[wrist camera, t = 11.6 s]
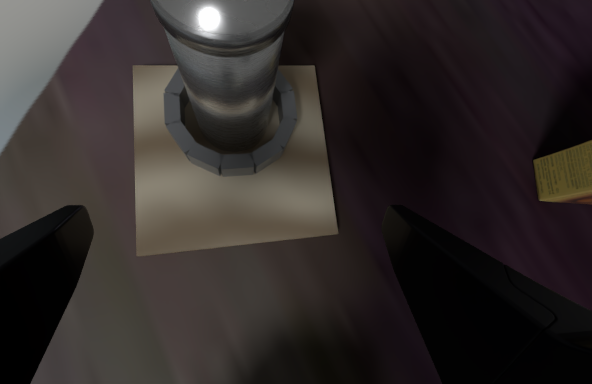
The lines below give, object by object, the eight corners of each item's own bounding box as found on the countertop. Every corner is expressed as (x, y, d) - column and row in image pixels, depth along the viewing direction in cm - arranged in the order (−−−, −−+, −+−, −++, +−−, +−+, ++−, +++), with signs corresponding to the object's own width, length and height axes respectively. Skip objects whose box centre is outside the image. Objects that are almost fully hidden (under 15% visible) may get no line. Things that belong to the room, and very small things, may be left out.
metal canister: (281, 136, 23) (322, 11, 11) (214, 165, 22) (179, 57, 10) (250, 76, 24) (257, -104, 12) (183, 100, 23) (114, -75, 11)
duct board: (334, 234, 24) (338, 233, 23) (141, 256, 21) (136, 256, 20) (311, 72, 26) (314, 65, 25) (137, 73, 23) (132, 65, 22)
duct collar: (297, 171, 23) (303, 164, 21) (173, 180, 21) (166, 173, 19) (284, 65, 25) (288, 49, 23) (168, 65, 23) (161, 48, 21)
